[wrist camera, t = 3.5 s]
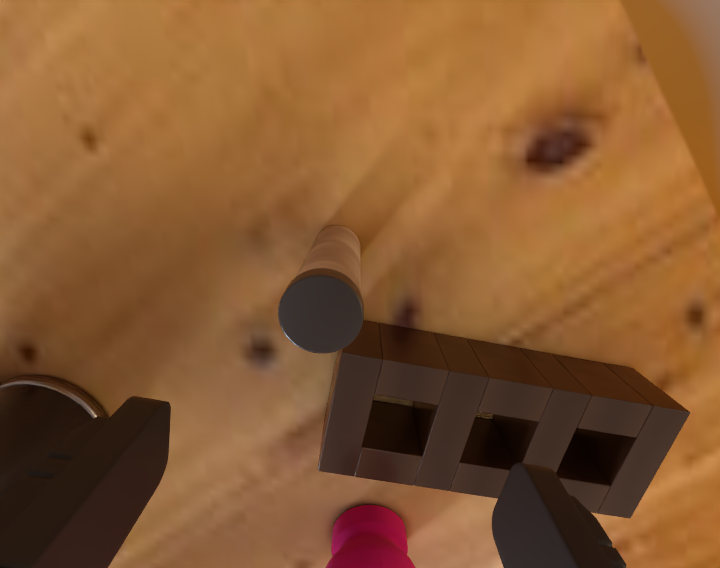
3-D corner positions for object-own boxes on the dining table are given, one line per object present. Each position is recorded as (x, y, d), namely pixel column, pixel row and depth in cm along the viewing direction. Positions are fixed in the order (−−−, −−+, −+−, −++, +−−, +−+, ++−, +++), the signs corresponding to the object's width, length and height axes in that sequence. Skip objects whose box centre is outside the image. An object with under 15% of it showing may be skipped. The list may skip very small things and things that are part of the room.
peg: (309, 267, 25) (272, 346, 14) (316, 219, 24) (283, 267, 13) (356, 275, 25) (354, 360, 15) (366, 229, 24) (371, 284, 14)
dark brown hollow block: (324, 419, 29) (317, 471, 24) (344, 316, 26) (341, 352, 21) (587, 461, 30) (630, 518, 25) (633, 368, 27) (691, 412, 23)
